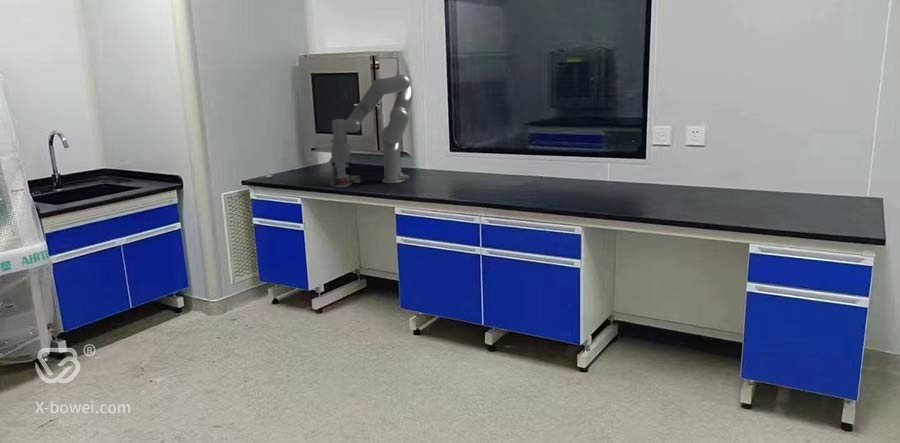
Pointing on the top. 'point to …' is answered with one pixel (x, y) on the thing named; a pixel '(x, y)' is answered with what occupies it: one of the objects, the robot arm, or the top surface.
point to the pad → (343, 184)
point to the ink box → (342, 172)
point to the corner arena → (351, 180)
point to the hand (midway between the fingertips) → (343, 174)
